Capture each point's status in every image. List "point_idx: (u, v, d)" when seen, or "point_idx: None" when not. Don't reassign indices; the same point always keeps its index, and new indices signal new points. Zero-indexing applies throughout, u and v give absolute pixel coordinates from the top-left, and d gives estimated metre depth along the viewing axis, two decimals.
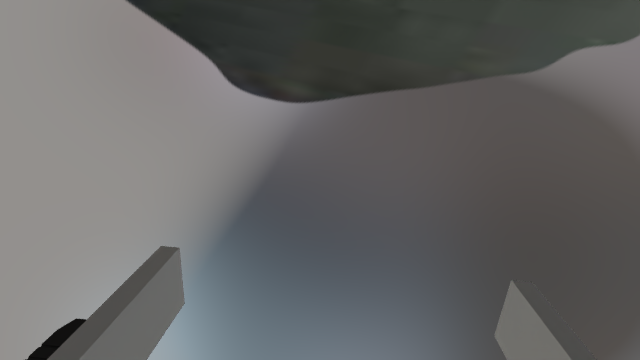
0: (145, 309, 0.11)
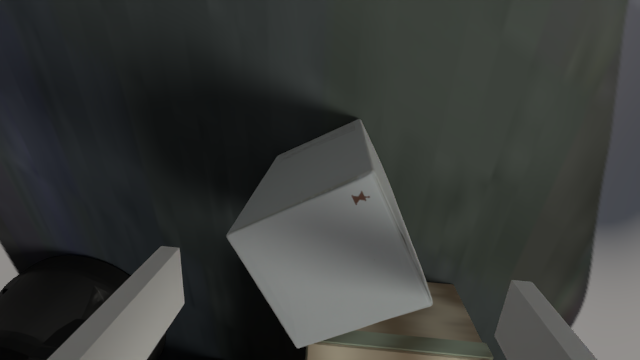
0: (145, 309, 0.11)
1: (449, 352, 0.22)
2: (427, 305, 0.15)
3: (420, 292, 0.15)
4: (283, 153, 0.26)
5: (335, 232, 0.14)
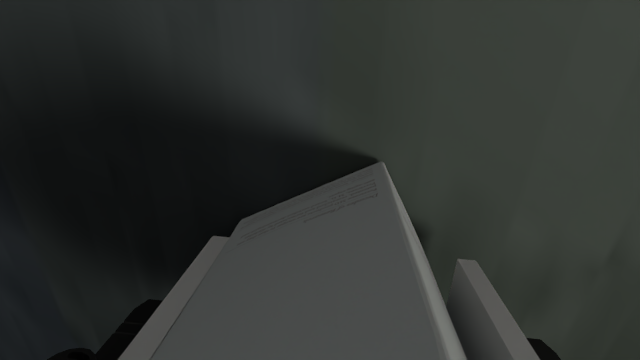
0: None
1: None
2: None
3: None
4: (250, 217, 0.15)
5: None
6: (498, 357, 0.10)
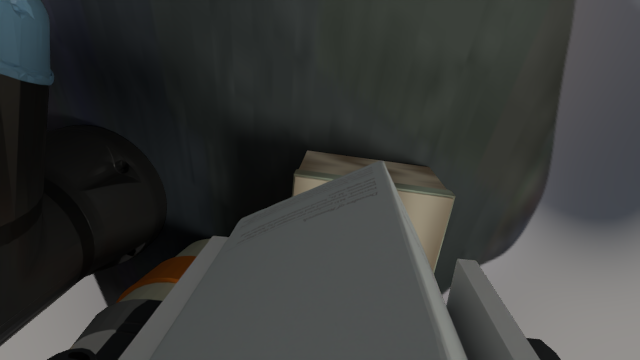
0: None
1: (417, 191, 0.25)
2: None
3: None
4: (250, 216, 0.15)
5: None
6: (498, 357, 0.10)
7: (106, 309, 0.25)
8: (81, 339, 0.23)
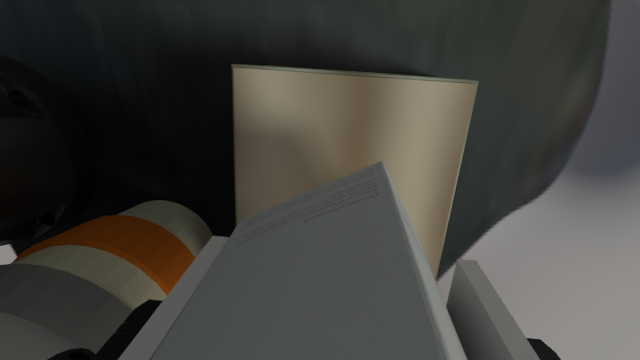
0: None
1: (420, 77, 0.17)
2: None
3: None
4: (250, 217, 0.15)
5: None
6: (498, 357, 0.10)
7: None
8: None
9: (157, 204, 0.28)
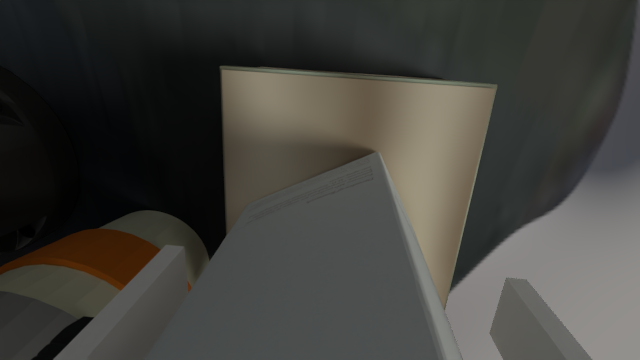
0: (151, 307, 0.11)
1: (431, 81, 0.15)
2: None
3: None
4: (256, 201, 0.16)
5: None
6: None
7: None
8: None
9: (145, 215, 0.26)
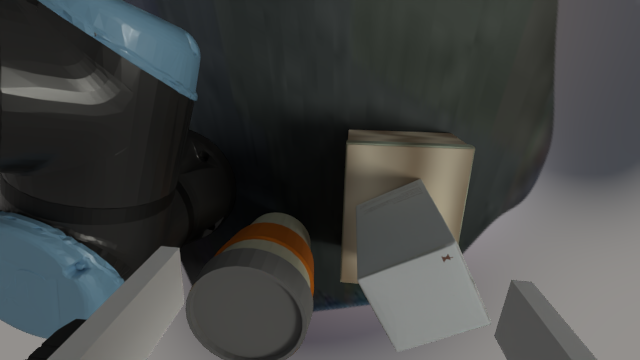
0: (145, 309, 0.11)
1: (444, 146, 0.32)
2: (487, 324, 0.23)
3: (483, 315, 0.23)
4: (361, 204, 0.34)
5: (429, 278, 0.22)
6: None
7: (213, 258, 0.33)
8: (201, 277, 0.31)
9: (276, 215, 0.44)
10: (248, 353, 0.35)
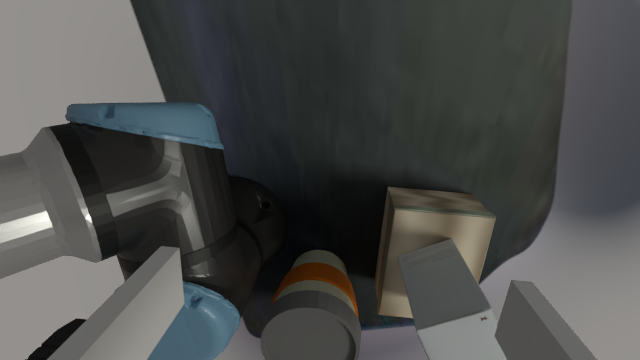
0: (145, 309, 0.11)
1: (472, 214, 0.41)
2: None
3: (506, 358, 0.32)
4: (403, 256, 0.42)
5: (470, 331, 0.31)
6: None
7: (283, 297, 0.41)
8: (277, 315, 0.39)
9: (321, 253, 0.52)
10: None
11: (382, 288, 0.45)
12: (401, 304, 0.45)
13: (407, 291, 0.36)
